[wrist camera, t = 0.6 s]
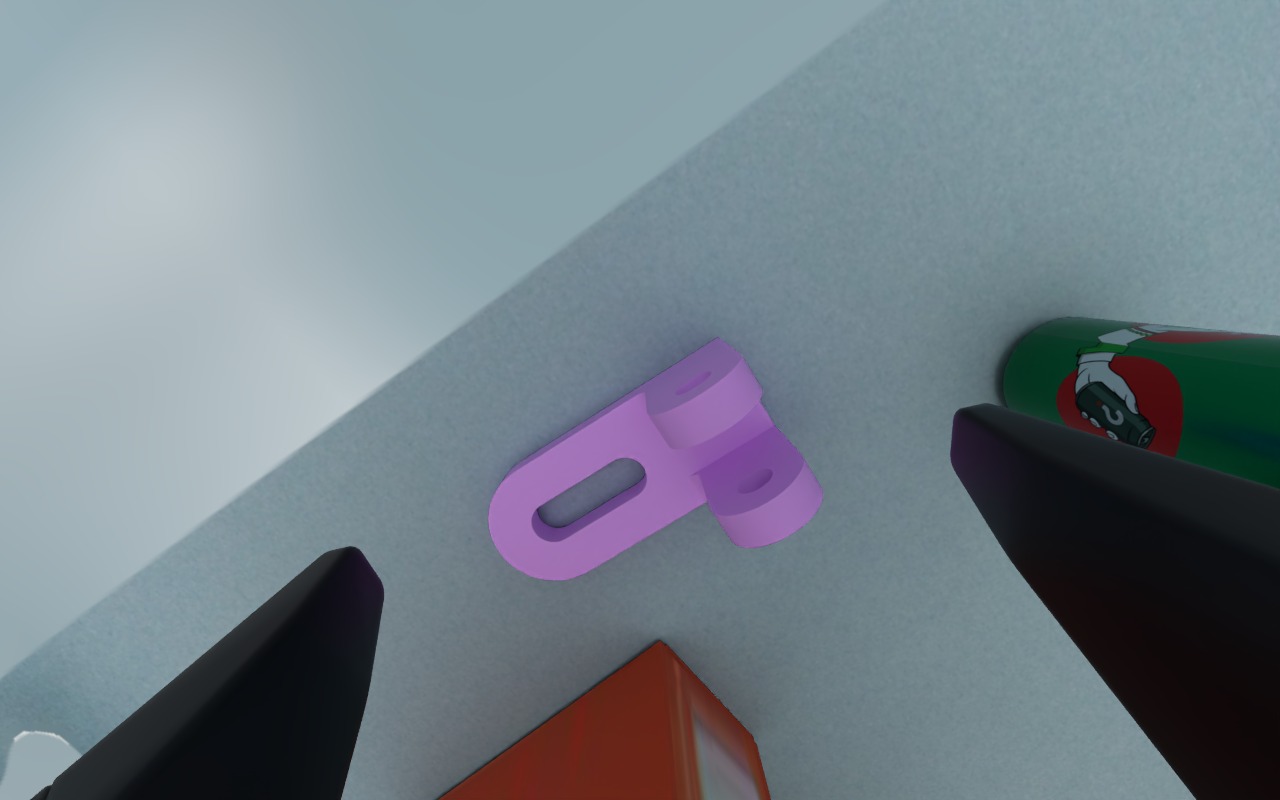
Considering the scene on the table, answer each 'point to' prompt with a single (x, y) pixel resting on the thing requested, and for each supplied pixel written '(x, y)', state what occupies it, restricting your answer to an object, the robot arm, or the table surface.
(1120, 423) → the soda can
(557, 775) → the file binder
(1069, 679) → the table surface
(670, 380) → the bracket
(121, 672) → the table surface
